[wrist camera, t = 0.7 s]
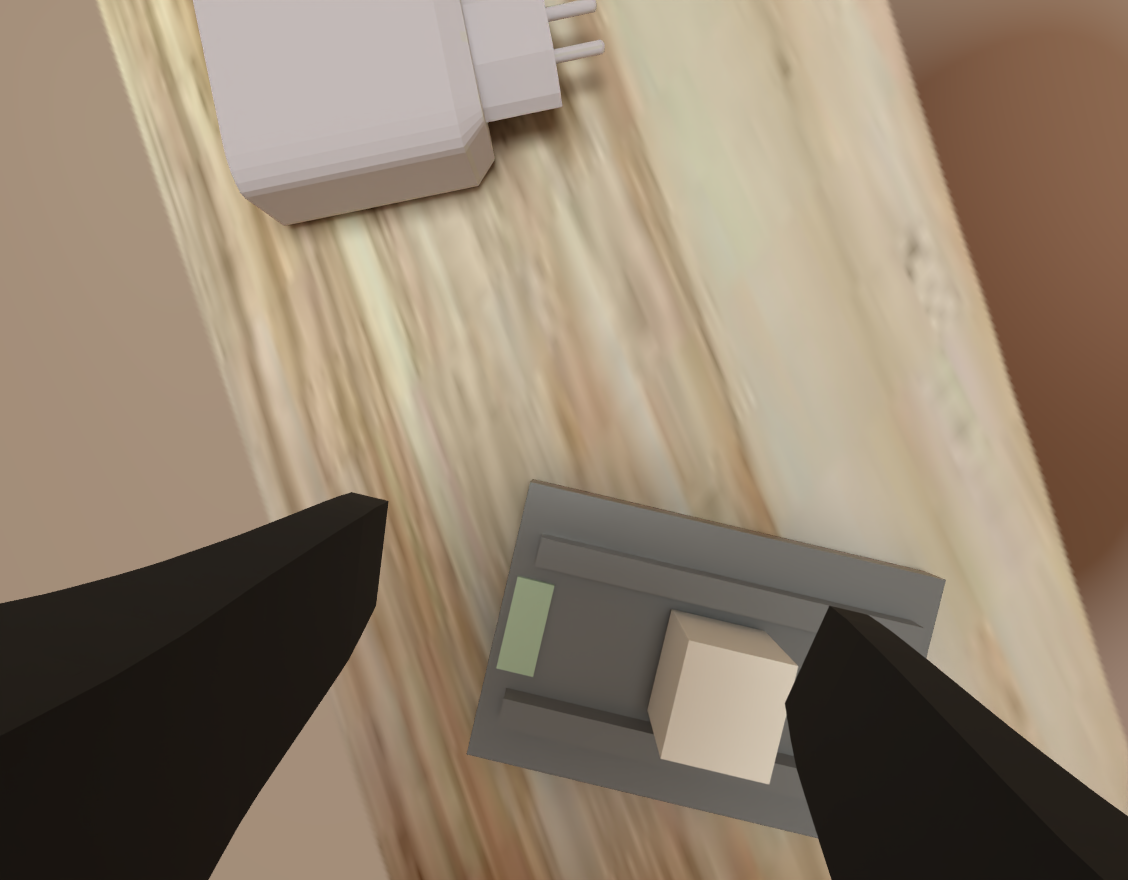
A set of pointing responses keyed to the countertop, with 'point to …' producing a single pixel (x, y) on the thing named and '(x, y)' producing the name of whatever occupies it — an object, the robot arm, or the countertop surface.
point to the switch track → (658, 640)
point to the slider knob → (720, 696)
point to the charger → (373, 94)
